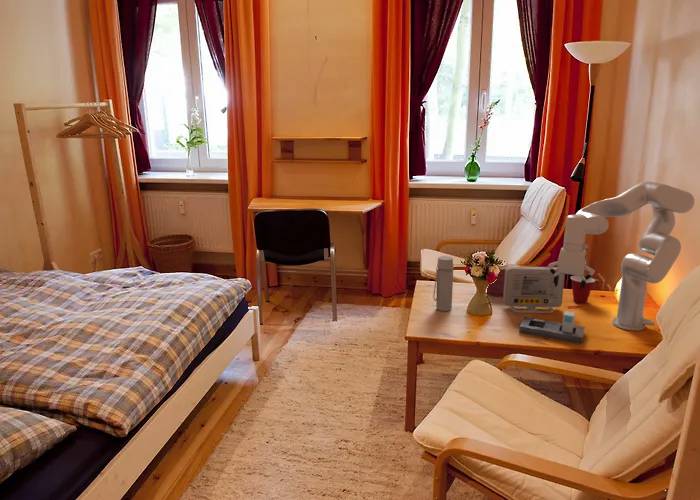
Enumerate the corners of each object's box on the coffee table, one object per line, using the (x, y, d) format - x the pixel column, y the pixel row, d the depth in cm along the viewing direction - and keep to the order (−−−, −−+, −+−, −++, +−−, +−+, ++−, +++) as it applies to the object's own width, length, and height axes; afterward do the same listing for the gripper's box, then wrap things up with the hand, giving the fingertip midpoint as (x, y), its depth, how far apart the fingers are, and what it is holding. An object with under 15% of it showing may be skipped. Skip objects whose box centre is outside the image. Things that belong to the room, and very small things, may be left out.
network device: (557, 306, 241) (561, 265, 236) (562, 313, 233) (567, 271, 228) (501, 304, 244) (504, 264, 239) (505, 312, 236) (508, 270, 230)
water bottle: (446, 305, 245) (448, 255, 238) (454, 311, 238) (457, 259, 231) (429, 307, 242) (430, 257, 235) (437, 313, 235) (439, 261, 228)
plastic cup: (593, 299, 248) (596, 276, 245) (590, 307, 239) (593, 283, 236) (569, 296, 254) (572, 273, 250) (566, 303, 245) (568, 279, 242)
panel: (583, 333, 212) (584, 326, 211) (581, 344, 203) (582, 337, 202) (524, 323, 223) (524, 316, 223) (519, 332, 214) (519, 325, 213)
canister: (487, 286, 269) (489, 254, 264) (512, 290, 263) (514, 257, 258) (479, 293, 258) (481, 260, 254) (505, 298, 252) (508, 264, 247)
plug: (572, 335, 211) (575, 312, 208) (571, 339, 207) (573, 317, 204) (562, 333, 213) (564, 311, 210) (560, 337, 209) (563, 315, 206)
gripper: (598, 247, 200) (593, 288, 205) (552, 241, 209) (548, 281, 214) (596, 251, 194) (590, 293, 199) (548, 245, 203) (544, 286, 208)
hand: (568, 287), depth 206 cm, fingers open, 9 cm apart
